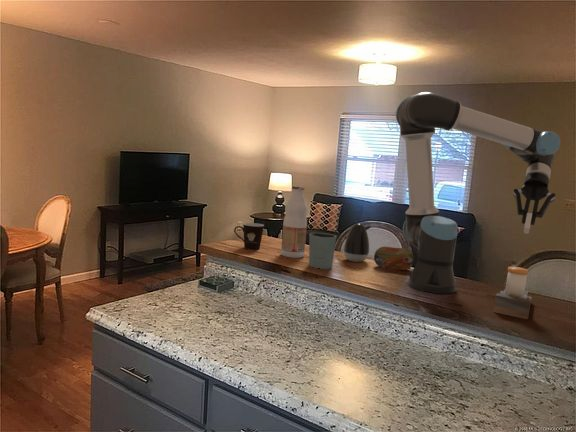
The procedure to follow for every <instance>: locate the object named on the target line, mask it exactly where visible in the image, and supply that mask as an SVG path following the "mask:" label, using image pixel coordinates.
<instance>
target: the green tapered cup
mask: <svg viewBox="0 0 576 432" xmlns="http://www.w3.org/2000/svg"><path fill="white" fill-rule="evenodd" d="M308 236H309V243H308V244H309V246H308V247H309V250H308V251H309V252H308V253H309V254H308V255H309V256H308V257H309V258H308V266H309V267H310V268H312V267H314V268H313V269H316V268H320V269H319V270H331V269H332V268H333V262H334V258H335V257H334V254H335V249H336V244H337V243H336V242H337V235H335V234H333V233H327V232H311V233H309V235H308ZM330 268H331V269H330Z"/></svg>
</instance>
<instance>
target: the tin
mask: <svg viewBox="0 0 576 432" xmlns="http://www.w3.org/2000/svg"><path fill="white" fill-rule="evenodd" d="M373 260H374V262H375V264H376V265H377V266H378V267H379V268H382V269H387V270H388V269H390V270H398V271H407V270H409V269H410V268H411V267H413V265H414V262H415V255H414V254H413V252H412V251H411V250H409V249H408V248H405V247H404V248H403V247H394V246H386V245H385V246H381V247H378V248H377V249H376V250H375V252H374V255H373Z"/></svg>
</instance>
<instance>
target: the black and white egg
mask: <svg viewBox="0 0 576 432" xmlns="http://www.w3.org/2000/svg"><path fill="white" fill-rule="evenodd" d="M370 228H371V225H367V226H364V224H362V223H359V222H358V223H355V224H353V225H352V226H351V228H350V229H349V231H348V234H347V235H346V239H345V240H344V241H345V242H344V245H343V252H344V256H345V259H347V260H349V261H350V262H353V263H362V262H364V261H366V259H367V258H368V256H369V254H370V239H369V236H368V231H367V230H369V229H370Z"/></svg>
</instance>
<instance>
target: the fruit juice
mask: <svg viewBox="0 0 576 432" xmlns="http://www.w3.org/2000/svg"><path fill="white" fill-rule="evenodd" d="M291 190H292V192H291V194H290V196H289V199H288V201H287V202H286V204H285V207H284V213H285V216H284V218H283V226H282V236H281V237H282V238H281V249H280V254H281V256H283V257H286V258H291V259H292V258H293V259H301V258H304V256H305V251H306V241H307V236H306V235H307V228H308V220H307V214H308V211H309V207H308V204H307V202H306V198H305V193H304V191H305V187H304V185H303V186H301V185H292V187H291Z"/></svg>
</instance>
